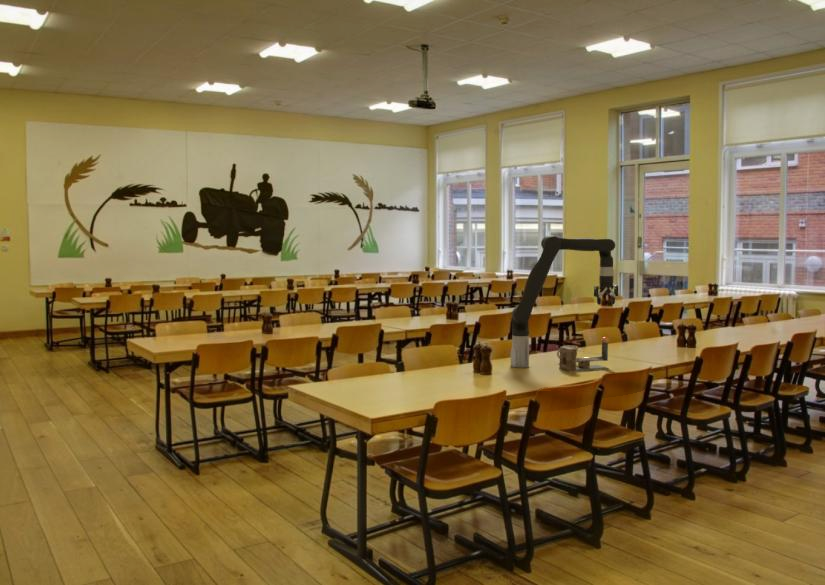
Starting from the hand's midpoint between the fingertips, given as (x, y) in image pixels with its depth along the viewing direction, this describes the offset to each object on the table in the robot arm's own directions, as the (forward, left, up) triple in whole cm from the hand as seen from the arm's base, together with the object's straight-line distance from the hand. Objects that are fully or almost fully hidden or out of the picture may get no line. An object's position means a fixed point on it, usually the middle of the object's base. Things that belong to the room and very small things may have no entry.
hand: (606, 304), depth 399 cm
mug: (-17, +12, -34) cm, 40 cm away
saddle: (-17, -6, -34) cm, 38 cm away
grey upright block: (-27, -6, -34) cm, 44 cm away
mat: (-17, -6, -34) cm, 38 cm away
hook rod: (-13, -6, -30) cm, 33 cm away
